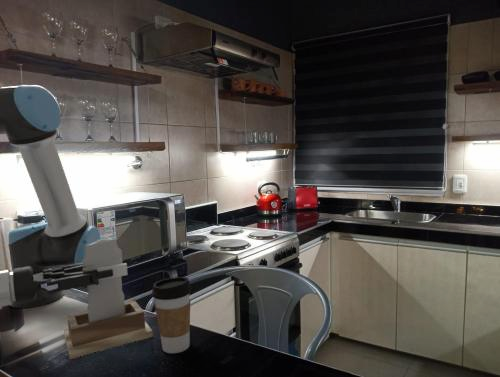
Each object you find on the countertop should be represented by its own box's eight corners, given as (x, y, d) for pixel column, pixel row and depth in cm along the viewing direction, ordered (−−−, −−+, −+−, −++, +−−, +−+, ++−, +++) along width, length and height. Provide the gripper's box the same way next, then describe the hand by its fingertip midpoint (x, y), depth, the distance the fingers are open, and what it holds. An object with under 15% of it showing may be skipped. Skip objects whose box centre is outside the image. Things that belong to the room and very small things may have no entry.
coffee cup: (187, 357, 85) (182, 287, 84) (150, 355, 87) (144, 287, 86) (200, 338, 93) (195, 275, 92) (165, 337, 95) (160, 274, 94)
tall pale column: (122, 319, 103) (115, 234, 101) (132, 322, 101) (125, 235, 98) (83, 336, 95) (75, 243, 92) (94, 340, 92) (85, 245, 90)
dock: (64, 335, 99) (61, 313, 99) (138, 317, 108) (136, 296, 108) (69, 359, 87) (67, 335, 87) (152, 336, 96) (150, 314, 95)
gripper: (16, 292, 96) (118, 272, 107) (14, 317, 80) (134, 291, 91) (12, 260, 95) (115, 244, 106) (10, 279, 79) (131, 258, 90)
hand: (124, 266), depth 98 cm, fingers open, 5 cm apart
